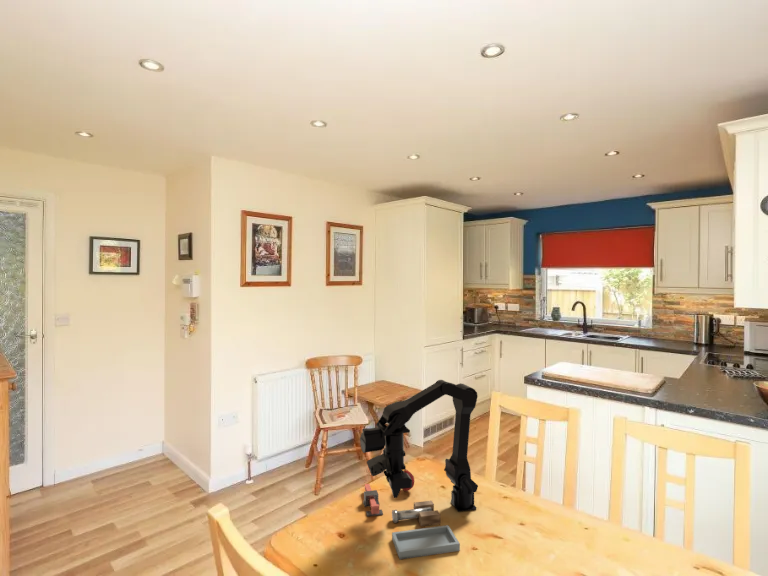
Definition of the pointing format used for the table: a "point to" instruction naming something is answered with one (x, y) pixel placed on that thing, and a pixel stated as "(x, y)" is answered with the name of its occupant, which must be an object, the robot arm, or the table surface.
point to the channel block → (427, 514)
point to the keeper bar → (372, 501)
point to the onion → (411, 478)
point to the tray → (425, 542)
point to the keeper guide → (367, 504)
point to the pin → (408, 514)
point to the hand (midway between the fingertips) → (395, 497)
